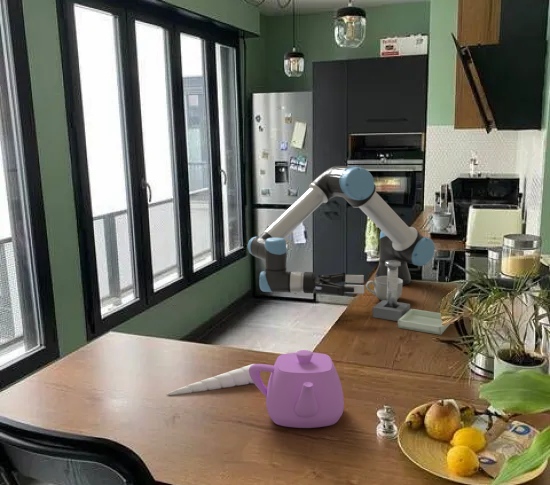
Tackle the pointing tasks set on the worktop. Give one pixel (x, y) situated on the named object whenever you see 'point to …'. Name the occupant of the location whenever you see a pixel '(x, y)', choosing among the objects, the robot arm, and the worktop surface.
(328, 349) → the worktop surface
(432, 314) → the tray
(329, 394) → the teapot
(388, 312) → the socket block
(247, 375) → the unicorn horn
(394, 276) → the pin
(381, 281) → the teacup
